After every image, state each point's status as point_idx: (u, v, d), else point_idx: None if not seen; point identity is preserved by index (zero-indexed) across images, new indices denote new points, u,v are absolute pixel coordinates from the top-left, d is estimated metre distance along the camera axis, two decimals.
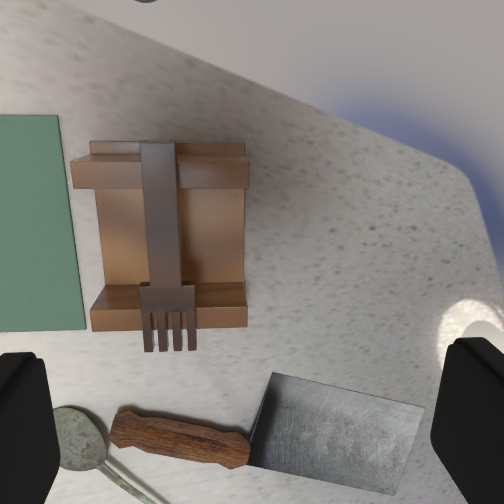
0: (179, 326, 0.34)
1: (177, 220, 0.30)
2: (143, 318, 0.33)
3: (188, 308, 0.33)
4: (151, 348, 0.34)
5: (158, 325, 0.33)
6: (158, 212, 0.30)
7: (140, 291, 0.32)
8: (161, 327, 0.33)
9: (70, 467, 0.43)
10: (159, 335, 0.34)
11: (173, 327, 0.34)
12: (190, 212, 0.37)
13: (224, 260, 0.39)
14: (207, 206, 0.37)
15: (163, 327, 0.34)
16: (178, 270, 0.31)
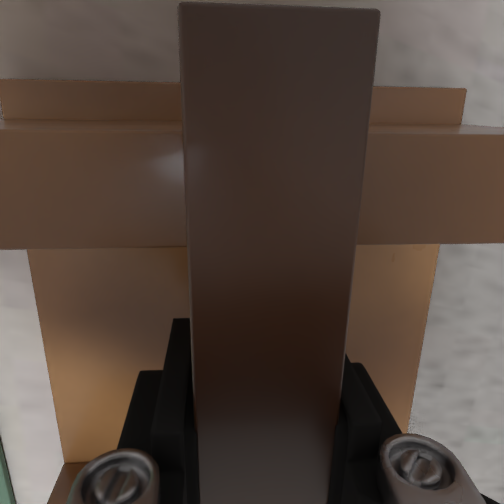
0: None
1: (337, 396, 0.07)
2: None
3: None
4: None
5: None
6: (257, 370, 0.06)
7: None
8: None
9: None
10: None
11: None
12: None
13: None
14: None
15: None
16: None
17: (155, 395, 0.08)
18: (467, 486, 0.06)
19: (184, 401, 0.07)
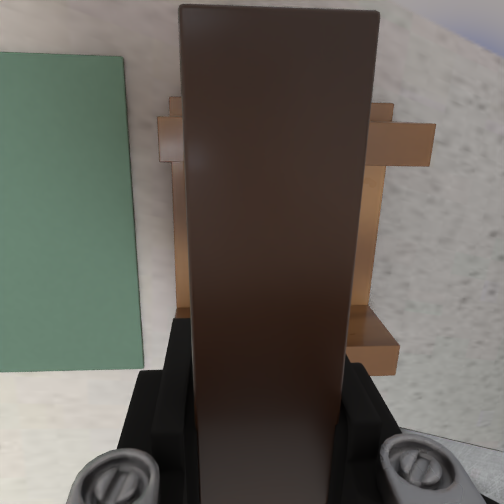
0: None
1: (338, 396, 0.07)
2: None
3: None
4: None
5: None
6: (258, 370, 0.06)
7: None
8: None
9: None
10: None
11: None
12: None
13: None
14: None
15: None
16: None
17: (155, 395, 0.08)
18: (467, 486, 0.06)
19: (184, 401, 0.07)
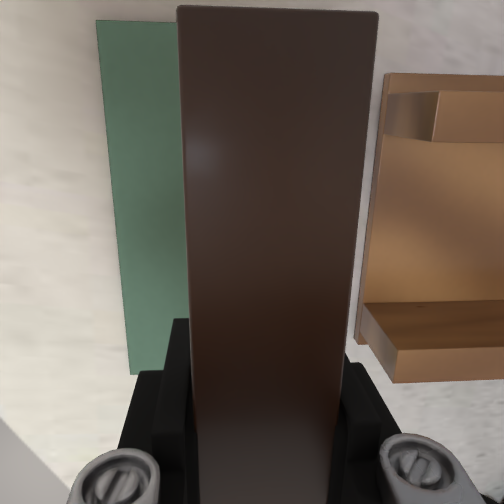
0: None
1: (337, 398, 0.07)
2: None
3: None
4: None
5: None
6: (257, 372, 0.06)
7: None
8: None
9: None
10: None
11: None
12: None
13: None
14: None
15: None
16: None
17: (155, 395, 0.08)
18: (466, 486, 0.06)
19: (184, 401, 0.07)
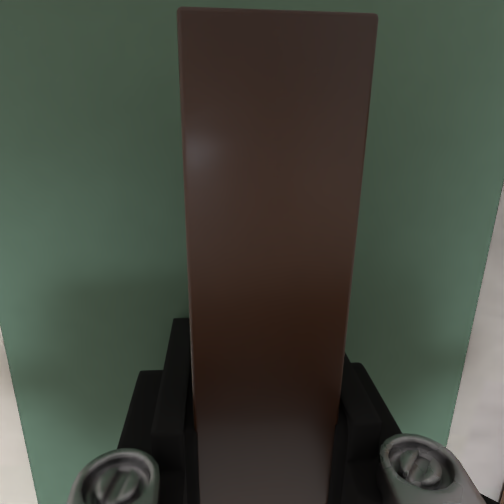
0: None
1: (337, 398, 0.07)
2: None
3: None
4: None
5: None
6: (257, 372, 0.06)
7: None
8: None
9: None
10: None
11: None
12: None
13: None
14: None
15: None
16: None
17: (156, 395, 0.08)
18: (467, 486, 0.06)
19: (184, 401, 0.07)
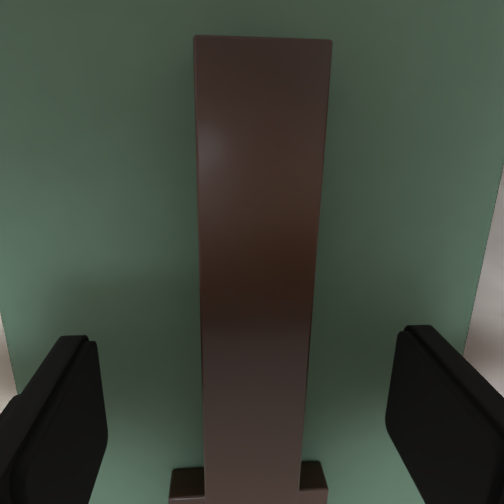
0: None
1: (309, 325, 0.09)
2: None
3: None
4: None
5: None
6: (248, 302, 0.09)
7: None
8: None
9: None
10: None
11: None
12: None
13: None
14: None
15: None
16: (294, 467, 0.10)
17: None
18: None
19: (23, 437, 0.06)
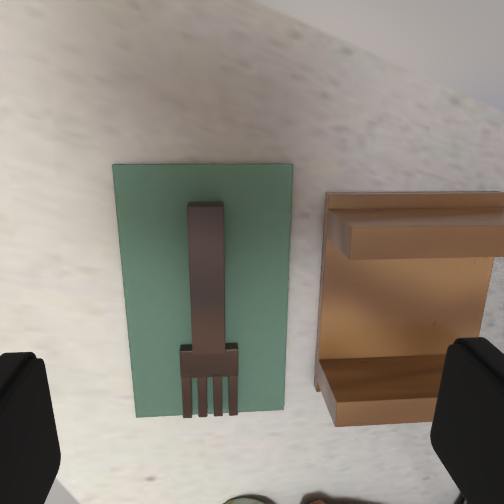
0: (220, 391, 0.32)
1: (223, 284, 0.28)
2: (183, 383, 0.31)
3: (230, 372, 0.31)
4: (190, 414, 0.32)
5: (198, 390, 0.32)
6: (204, 277, 0.28)
7: (181, 356, 0.31)
8: (202, 392, 0.32)
9: None
10: (199, 400, 0.32)
11: (214, 392, 0.32)
12: (430, 274, 0.31)
13: (458, 328, 0.32)
14: (451, 267, 0.31)
15: (204, 393, 0.32)
16: (222, 335, 0.30)
17: None
18: None
19: None
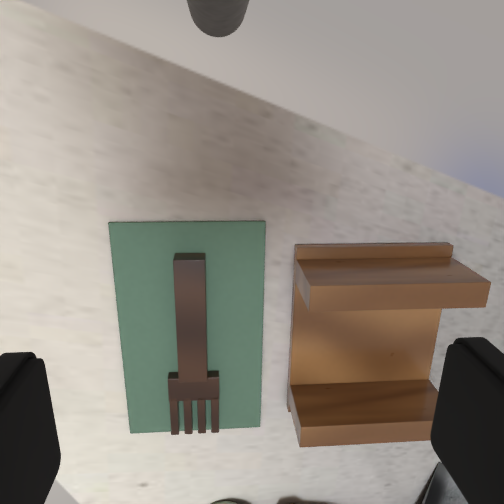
0: (204, 412, 0.36)
1: (205, 324, 0.33)
2: (171, 406, 0.36)
3: (212, 396, 0.36)
4: (177, 431, 0.37)
5: (184, 411, 0.36)
6: (188, 318, 0.33)
7: (169, 383, 0.35)
8: (187, 413, 0.36)
9: None
10: (185, 420, 0.36)
11: (198, 413, 0.36)
12: (387, 313, 0.35)
13: (413, 359, 0.37)
14: None
15: (189, 413, 0.36)
16: (204, 366, 0.34)
17: None
18: None
19: None
